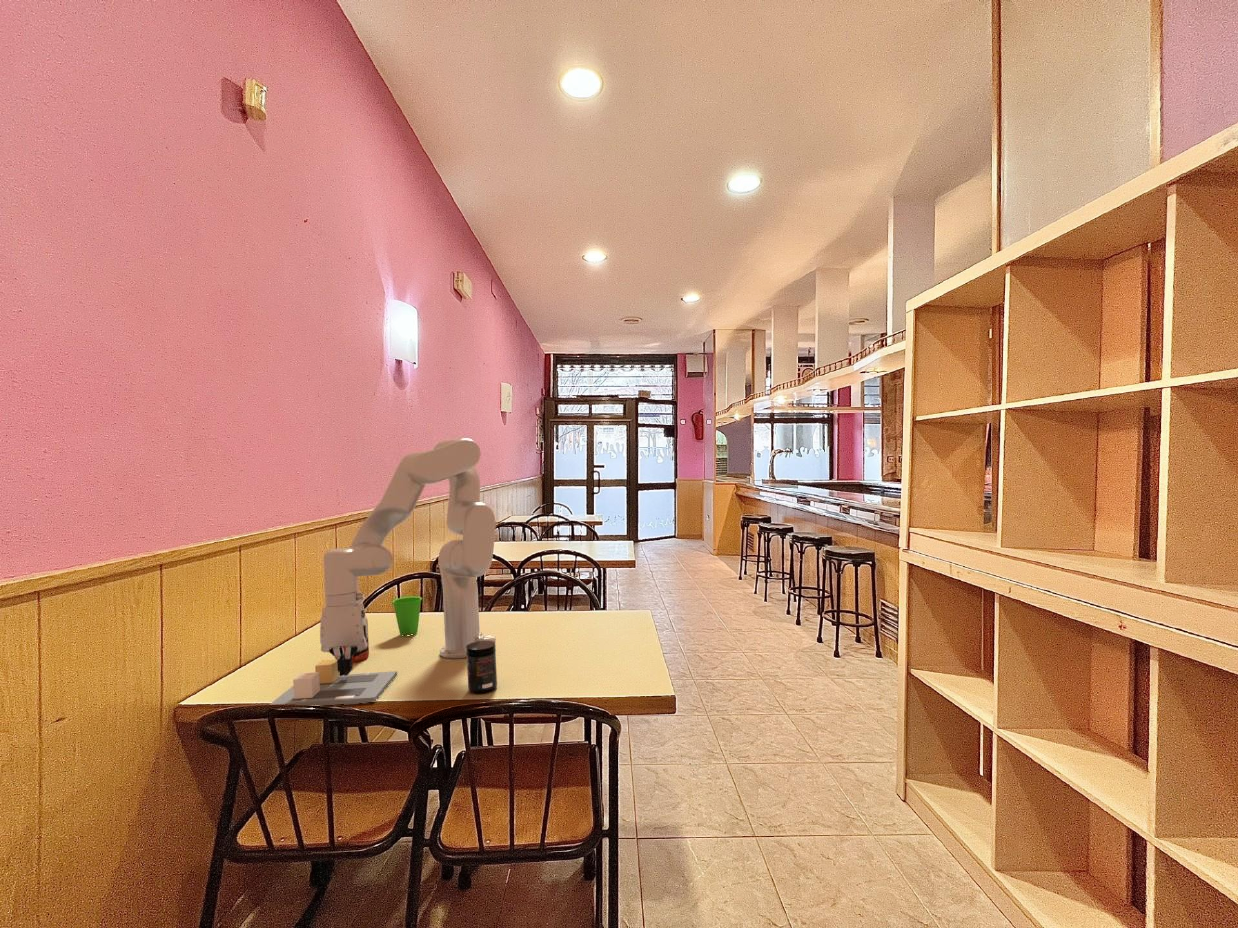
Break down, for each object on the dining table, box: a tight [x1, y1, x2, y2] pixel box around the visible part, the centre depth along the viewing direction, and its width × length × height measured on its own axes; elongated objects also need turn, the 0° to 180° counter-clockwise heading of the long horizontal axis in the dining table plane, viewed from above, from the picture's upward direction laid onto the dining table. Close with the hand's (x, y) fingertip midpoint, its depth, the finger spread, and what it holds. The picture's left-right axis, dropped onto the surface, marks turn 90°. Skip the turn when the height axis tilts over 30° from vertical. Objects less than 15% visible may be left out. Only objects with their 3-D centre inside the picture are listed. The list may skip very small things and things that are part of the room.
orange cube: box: [314, 658, 340, 684], centre depth 148 cm, size 4×4×4 cm
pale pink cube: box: [292, 671, 320, 699], centre depth 139 cm, size 4×4×4 cm
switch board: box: [269, 670, 398, 706], centre depth 144 cm, size 23×17×1 cm
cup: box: [391, 596, 423, 637], centre depth 191 cm, size 9×9×11 cm
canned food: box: [343, 617, 370, 664], centre depth 168 cm, size 8×8×11 cm
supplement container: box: [466, 641, 498, 695], centre depth 141 cm, size 7×7×10 cm
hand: (345, 673), depth 148 cm, fingers closed
